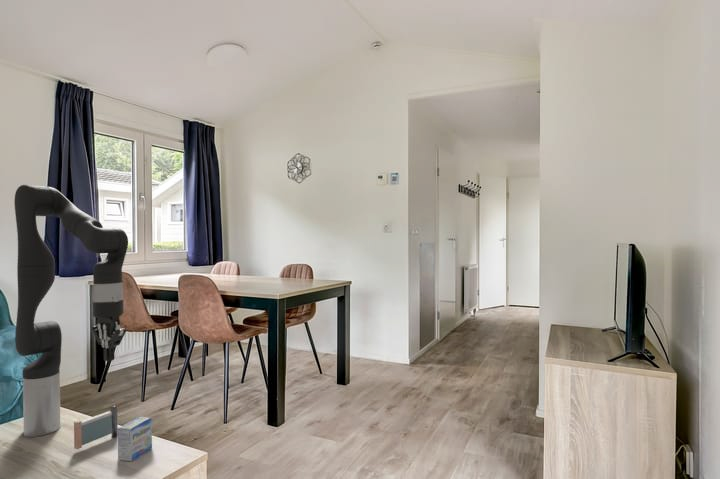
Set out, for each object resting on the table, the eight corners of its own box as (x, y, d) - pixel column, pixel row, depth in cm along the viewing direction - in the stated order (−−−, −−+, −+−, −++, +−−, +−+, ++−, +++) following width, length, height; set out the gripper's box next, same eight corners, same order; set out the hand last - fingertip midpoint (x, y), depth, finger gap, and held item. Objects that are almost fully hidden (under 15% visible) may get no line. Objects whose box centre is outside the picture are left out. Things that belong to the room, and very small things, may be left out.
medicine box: (131, 462, 116) (130, 429, 116) (117, 460, 117) (116, 427, 117) (152, 448, 123) (152, 417, 123) (139, 446, 124) (138, 415, 124)
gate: (109, 434, 130) (108, 409, 130) (112, 435, 129) (111, 410, 129) (74, 448, 122) (73, 421, 122) (77, 449, 121) (76, 422, 121)
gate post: (110, 436, 131) (109, 406, 131) (115, 434, 132) (115, 404, 132) (113, 438, 130) (113, 407, 130) (118, 435, 131) (118, 405, 131)
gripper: (81, 299, 124) (82, 360, 124) (108, 302, 117) (109, 367, 117) (107, 296, 130) (108, 354, 130) (135, 298, 124) (136, 360, 124)
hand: (109, 360), depth 124 cm, fingers closed
